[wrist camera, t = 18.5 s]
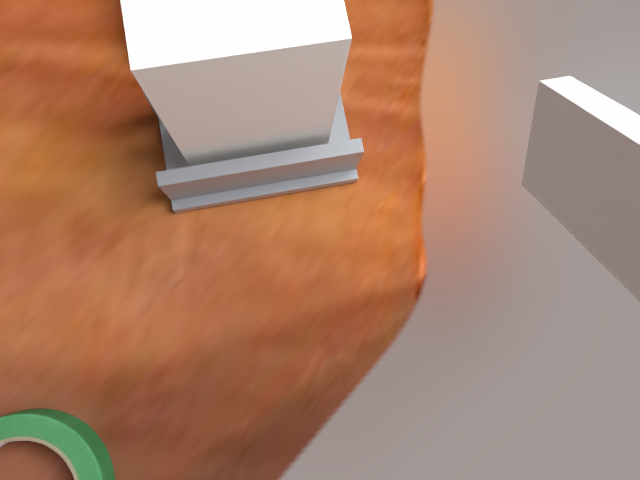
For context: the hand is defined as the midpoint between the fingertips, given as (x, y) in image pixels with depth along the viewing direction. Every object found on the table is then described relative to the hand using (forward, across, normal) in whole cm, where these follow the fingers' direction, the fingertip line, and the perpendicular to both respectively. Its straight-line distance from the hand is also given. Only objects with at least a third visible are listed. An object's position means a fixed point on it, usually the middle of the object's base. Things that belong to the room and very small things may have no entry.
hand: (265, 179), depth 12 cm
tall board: (+26, 0, -11) cm, 28 cm away
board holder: (+27, 0, -12) cm, 29 cm away
